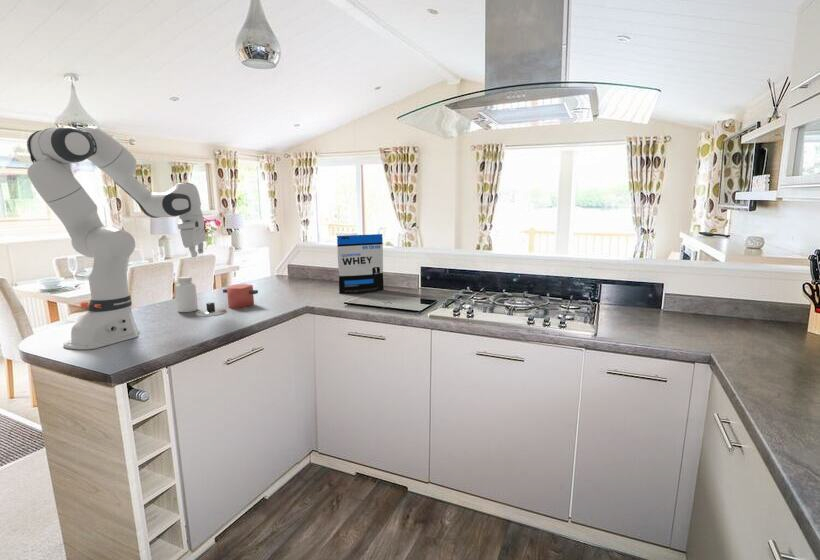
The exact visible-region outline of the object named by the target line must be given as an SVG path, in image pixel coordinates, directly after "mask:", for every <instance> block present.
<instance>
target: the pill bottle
mask: <svg viewBox="0 0 820 560" xmlns="http://www.w3.org/2000/svg"><path fill="white" fill-rule="evenodd" d="M177 279H178V281H177V282H178V283H177V284H176V285H175V298H176V305H177V311H178V312H180V313H191V312H195V311H198V308H199V307H198V306H199V305H198V298H197V287H196V286H197V285H196V283H194V282H192V281H193V277H192V276H180V277H178V278H177Z"/></svg>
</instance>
